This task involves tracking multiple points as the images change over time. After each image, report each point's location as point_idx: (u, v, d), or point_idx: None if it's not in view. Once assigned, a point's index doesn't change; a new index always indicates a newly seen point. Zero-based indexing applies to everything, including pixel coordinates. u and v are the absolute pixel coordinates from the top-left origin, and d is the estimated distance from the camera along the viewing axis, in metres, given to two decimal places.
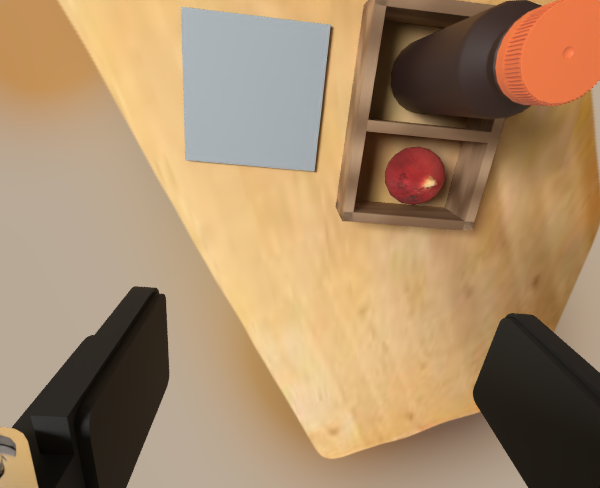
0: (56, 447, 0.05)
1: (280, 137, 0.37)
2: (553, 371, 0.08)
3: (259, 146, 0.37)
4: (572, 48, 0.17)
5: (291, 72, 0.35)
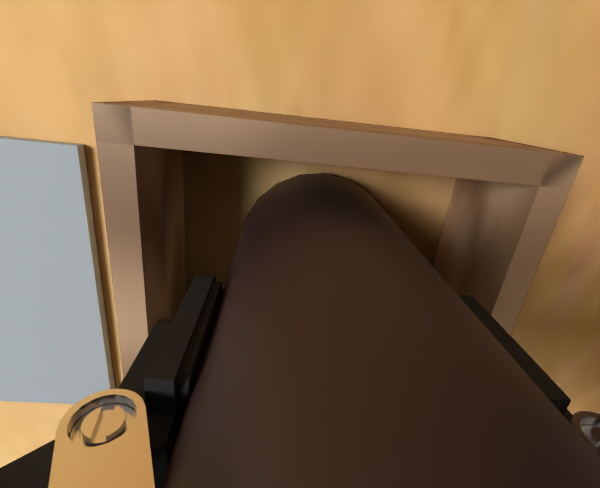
0: (161, 407, 0.06)
1: (24, 354, 0.18)
2: None
3: None
4: None
5: (10, 240, 0.15)
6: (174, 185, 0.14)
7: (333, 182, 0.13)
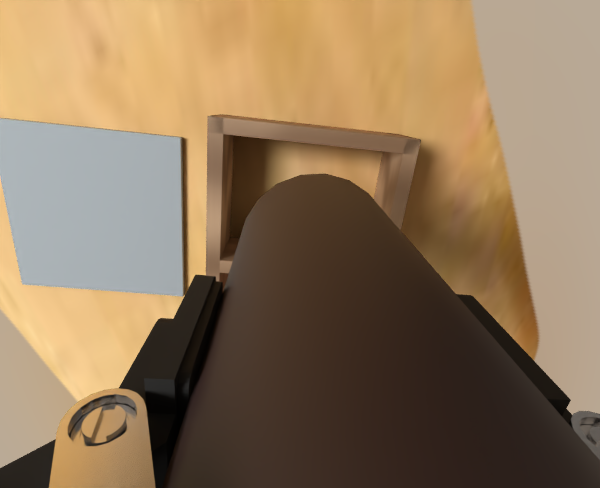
0: (162, 407, 0.06)
1: (135, 260, 0.30)
2: None
3: (110, 269, 0.31)
4: None
5: (138, 189, 0.28)
6: (230, 158, 0.27)
7: (333, 182, 0.13)
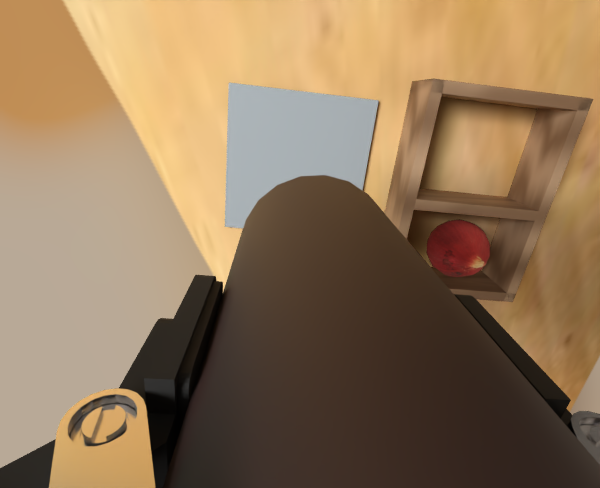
0: (161, 407, 0.06)
1: None
2: None
3: None
4: None
5: (336, 144, 0.34)
6: None
7: (333, 184, 0.13)
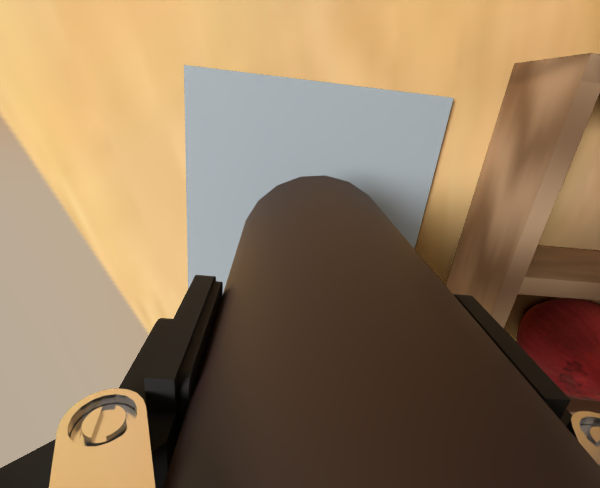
0: (162, 407, 0.06)
1: None
2: None
3: None
4: None
5: (375, 174, 0.20)
6: None
7: (333, 184, 0.13)
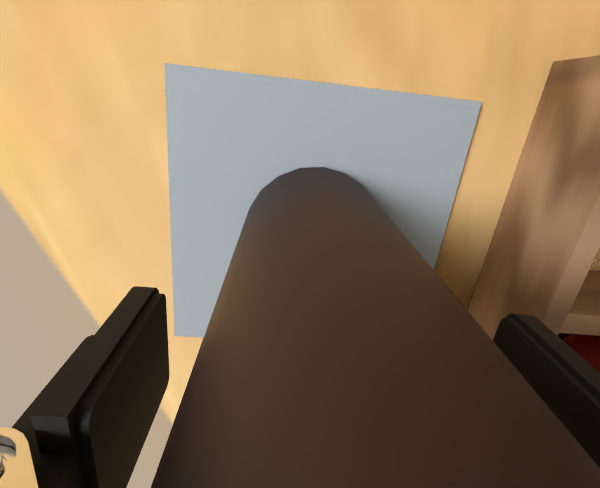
0: (56, 447, 0.05)
1: None
2: (553, 371, 0.08)
3: None
4: None
5: (388, 189, 0.17)
6: None
7: (329, 174, 0.15)
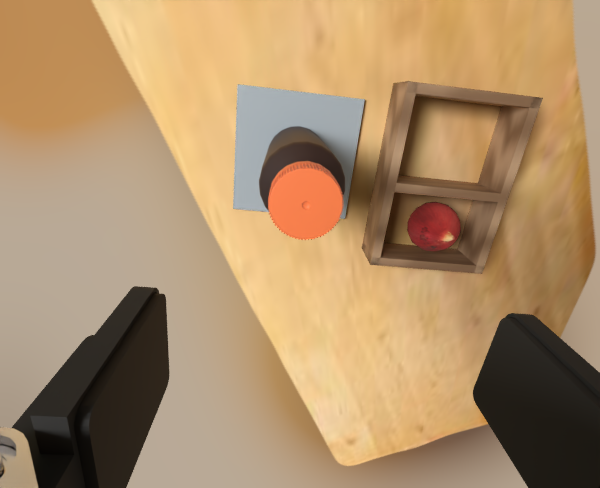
0: (56, 447, 0.05)
1: None
2: (553, 371, 0.08)
3: None
4: (308, 202, 0.22)
5: (329, 137, 0.40)
6: None
7: (301, 127, 0.38)
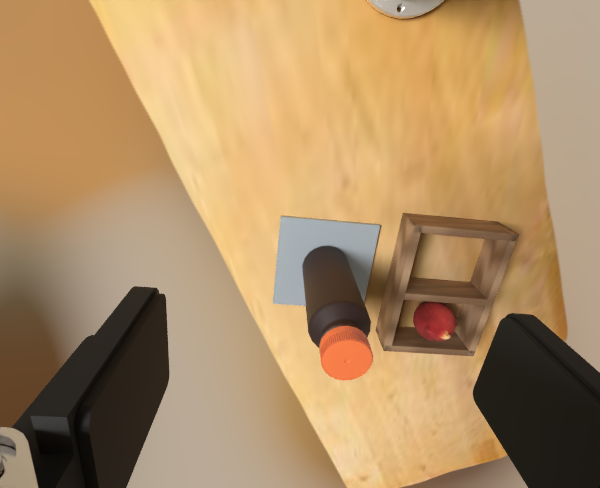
0: (56, 447, 0.05)
1: None
2: (553, 371, 0.08)
3: None
4: (349, 359, 0.33)
5: (351, 252, 0.50)
6: None
7: (331, 250, 0.48)
